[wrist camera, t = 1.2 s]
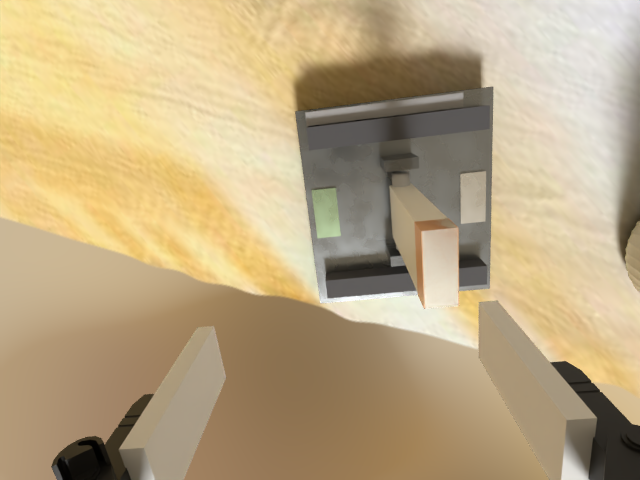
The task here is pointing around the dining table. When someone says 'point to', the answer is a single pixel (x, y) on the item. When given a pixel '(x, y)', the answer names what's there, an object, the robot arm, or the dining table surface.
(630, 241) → the canister
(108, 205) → the dining table surface
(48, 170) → the dining table surface
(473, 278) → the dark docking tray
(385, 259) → the panel
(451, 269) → the lever
